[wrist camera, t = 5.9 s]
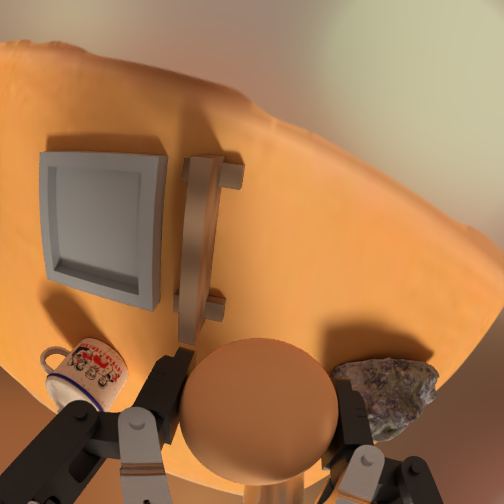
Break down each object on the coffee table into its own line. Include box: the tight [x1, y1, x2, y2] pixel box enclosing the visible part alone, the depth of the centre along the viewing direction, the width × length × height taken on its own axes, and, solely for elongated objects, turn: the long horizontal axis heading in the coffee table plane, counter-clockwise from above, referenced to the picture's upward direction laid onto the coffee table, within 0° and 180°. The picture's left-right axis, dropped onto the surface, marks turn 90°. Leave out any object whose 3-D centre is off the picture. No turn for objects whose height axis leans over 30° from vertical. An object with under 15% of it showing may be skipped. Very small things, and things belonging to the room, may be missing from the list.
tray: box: [39, 151, 168, 311], centre depth 26 cm, size 15×15×2 cm
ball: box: [179, 338, 338, 486], centre depth 10 cm, size 6×6×6 cm
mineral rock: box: [330, 357, 439, 442], centre depth 26 cm, size 13×11×10 cm
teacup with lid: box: [40, 338, 128, 414], centre depth 29 cm, size 12×9×12 cm
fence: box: [174, 154, 245, 345], centre depth 24 cm, size 16×5×5 cm, turn 171°
